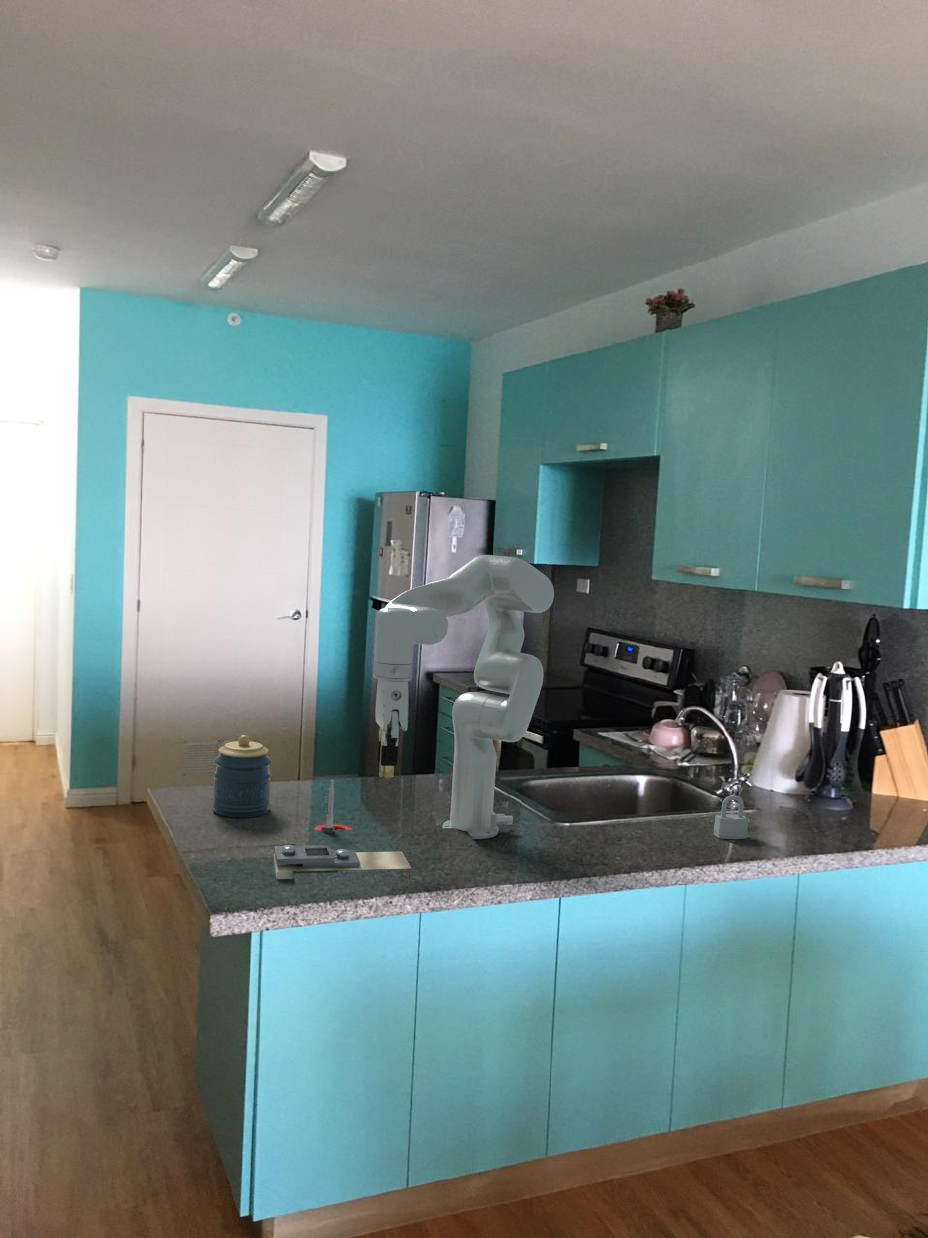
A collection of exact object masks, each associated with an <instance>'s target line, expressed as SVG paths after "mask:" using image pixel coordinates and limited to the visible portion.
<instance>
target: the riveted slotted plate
mask: <svg viewBox="0 0 928 1238" xmlns="http://www.w3.org/2000/svg"><path fill="white" fill-rule="evenodd" d="M273 854H275V858H276V863H277V864H302V867H303V869H316V868H358V867H360V861H359V859H358V856H357V854H356V850H355V849H345V848H341V849H340V848H339V849H332V846H331V845H330V844H327V845H320V844H319V845H289V844H286V845H277V846H275V845H274V848H273Z"/></svg>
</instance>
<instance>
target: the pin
mask: <svg viewBox="0 0 928 1238" xmlns="http://www.w3.org/2000/svg"><path fill="white" fill-rule="evenodd" d="M387 730H391V727H388V729H387ZM388 734H390V733H388ZM388 734H387V737H388ZM383 740H384V730H383V729H382V737H381V747H382V745H383ZM394 770H395V766H382V765H381V753H380V762H379V772H378V776H379V777H380V778H384V779H391V778H393V777H394V774H395V773H394Z"/></svg>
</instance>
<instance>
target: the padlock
mask: <svg viewBox="0 0 928 1238" xmlns="http://www.w3.org/2000/svg"><path fill="white" fill-rule="evenodd" d="M730 801H736V802H738V810H737V811H738V812H737V814H732V813H731V814H728V813H727V810H728V809H727V808H728V803H729V802H730ZM744 806H745V805H744V800H743V798H742V797H740V796H739V795H735V794H733V795H728V796H726V797H724V799H723V801H722V804H721V812H720V813H721V814H715V817H714V825H713V835H714V836H715V837H716V838H717V839H719V840H720V839H722V840H723V839H725V840H741V839H742V840H745V839H747V837H748V828H749V827H748V825H749V818H748V817H746V816H745V815H744V808H745V807H744Z"/></svg>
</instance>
